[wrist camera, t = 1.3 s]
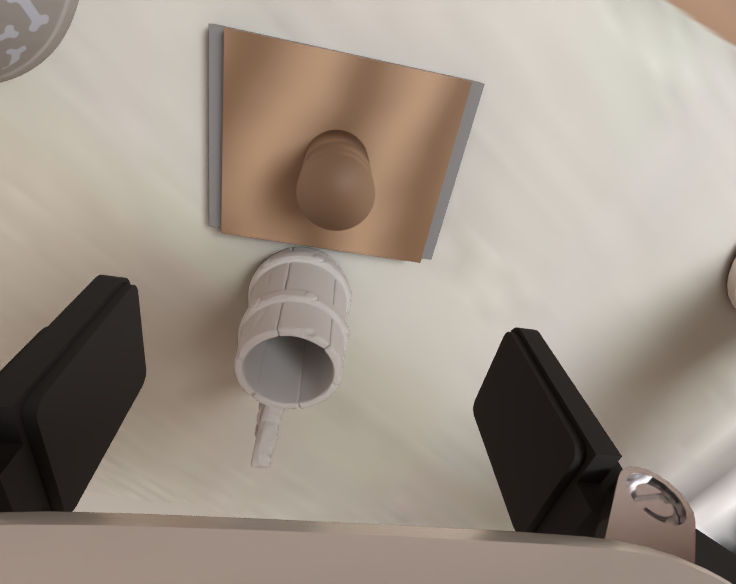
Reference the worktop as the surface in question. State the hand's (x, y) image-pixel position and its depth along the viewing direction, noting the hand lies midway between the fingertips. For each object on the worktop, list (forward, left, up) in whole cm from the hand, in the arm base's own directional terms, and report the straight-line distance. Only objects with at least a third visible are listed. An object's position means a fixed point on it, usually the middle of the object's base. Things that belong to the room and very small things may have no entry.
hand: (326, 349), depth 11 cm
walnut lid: (0, 0, -19) cm, 19 cm away
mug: (+1, +13, -20) cm, 24 cm away
